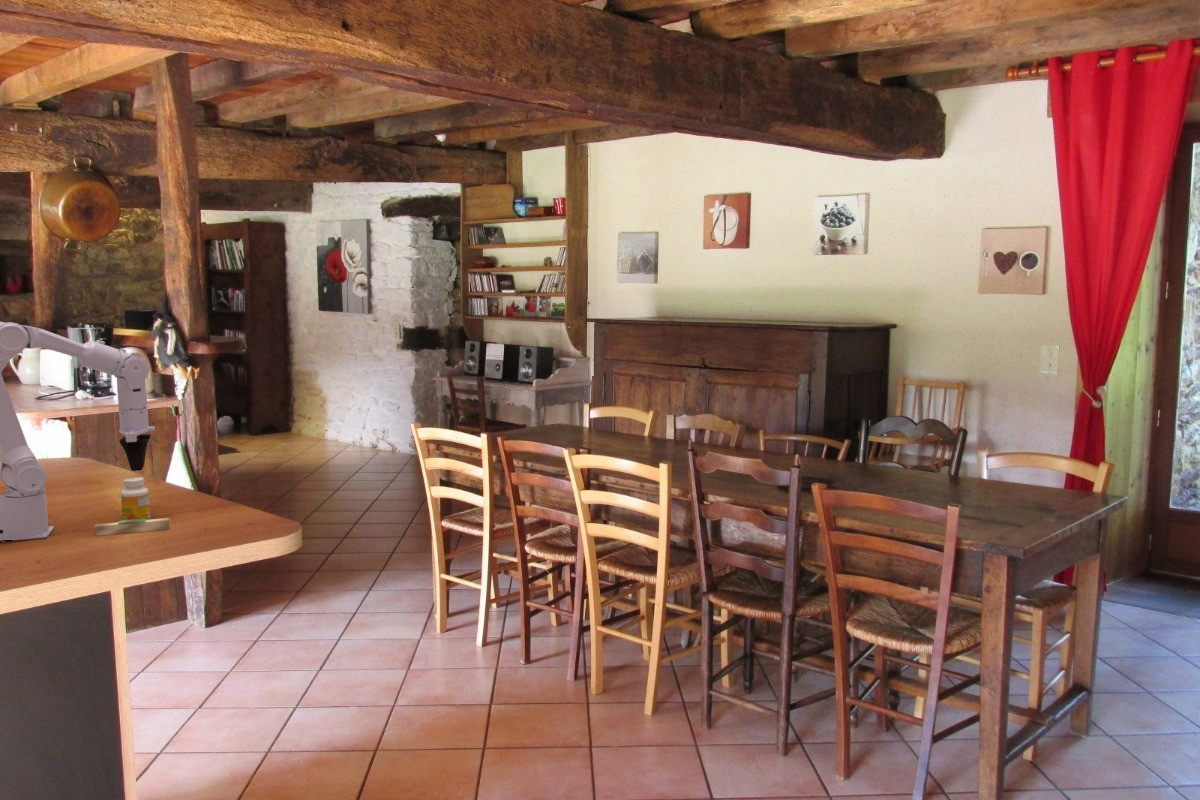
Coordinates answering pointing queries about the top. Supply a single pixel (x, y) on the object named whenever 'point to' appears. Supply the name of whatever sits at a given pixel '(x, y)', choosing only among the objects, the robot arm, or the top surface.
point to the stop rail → (131, 526)
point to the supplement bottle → (135, 499)
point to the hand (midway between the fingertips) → (137, 469)
